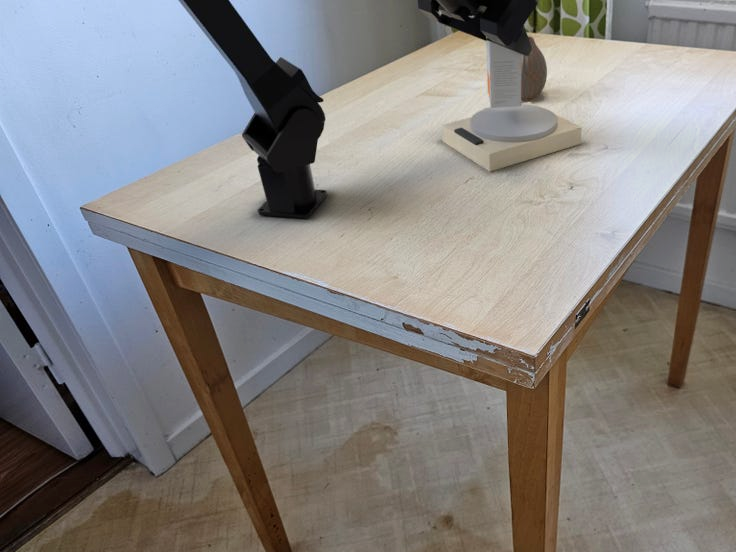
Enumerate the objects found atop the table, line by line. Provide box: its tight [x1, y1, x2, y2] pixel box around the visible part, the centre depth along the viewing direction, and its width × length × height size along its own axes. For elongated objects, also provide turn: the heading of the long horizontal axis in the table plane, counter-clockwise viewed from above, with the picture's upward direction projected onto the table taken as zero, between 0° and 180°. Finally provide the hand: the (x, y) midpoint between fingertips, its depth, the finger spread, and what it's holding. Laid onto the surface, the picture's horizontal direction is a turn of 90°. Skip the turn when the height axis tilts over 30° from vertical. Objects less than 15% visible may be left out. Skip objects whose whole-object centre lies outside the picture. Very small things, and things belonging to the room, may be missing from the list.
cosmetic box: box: [485, 37, 522, 108], centre depth 87 cm, size 6×4×12 cm
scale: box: [441, 101, 583, 173], centre depth 92 cm, size 15×12×3 cm
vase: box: [521, 35, 548, 101], centre depth 105 cm, size 7×7×9 cm
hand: (512, 46), depth 87 cm, fingers closed on cosmetic box, 7 cm apart
